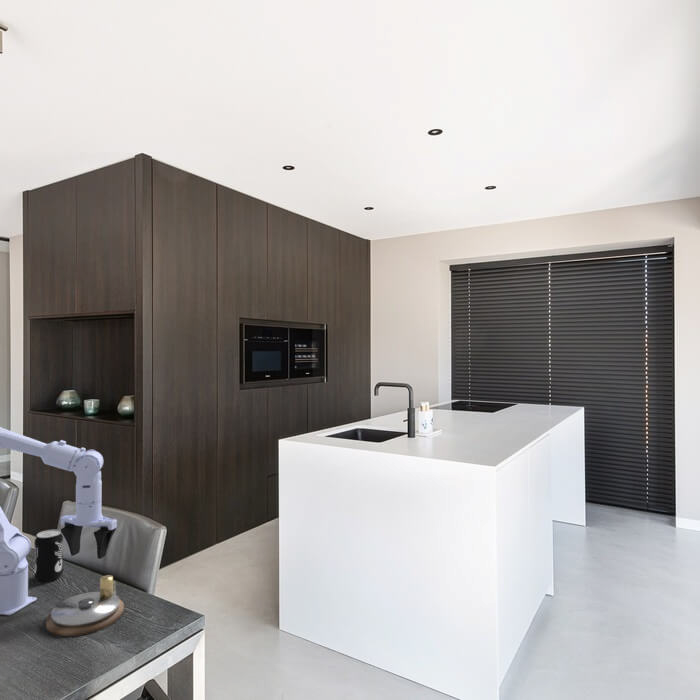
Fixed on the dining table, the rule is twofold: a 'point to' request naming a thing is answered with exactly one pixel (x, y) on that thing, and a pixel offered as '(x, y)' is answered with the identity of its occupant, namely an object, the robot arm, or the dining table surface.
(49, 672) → the dining table surface
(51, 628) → the wheel base
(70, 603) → the handwheel
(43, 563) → the beverage can
